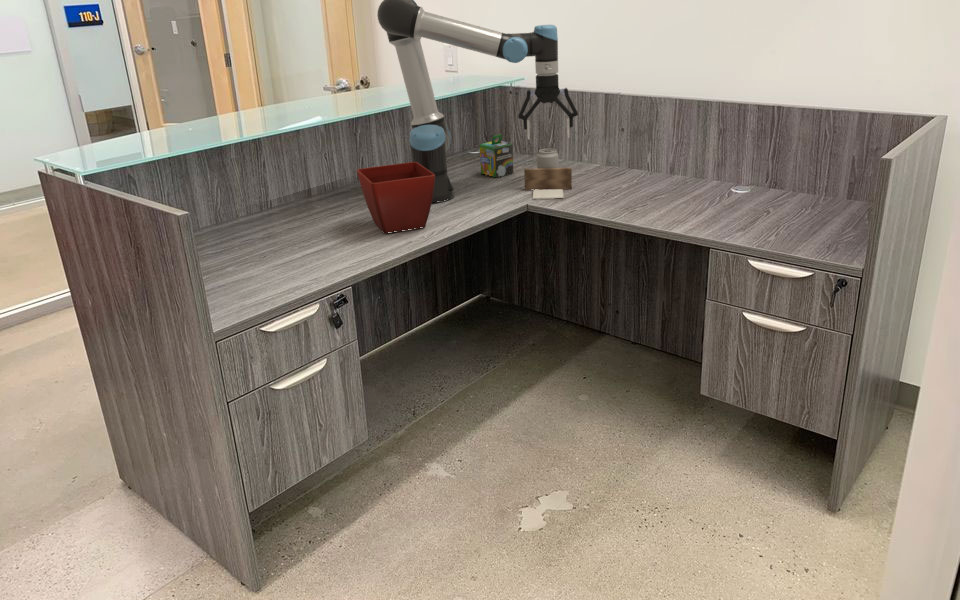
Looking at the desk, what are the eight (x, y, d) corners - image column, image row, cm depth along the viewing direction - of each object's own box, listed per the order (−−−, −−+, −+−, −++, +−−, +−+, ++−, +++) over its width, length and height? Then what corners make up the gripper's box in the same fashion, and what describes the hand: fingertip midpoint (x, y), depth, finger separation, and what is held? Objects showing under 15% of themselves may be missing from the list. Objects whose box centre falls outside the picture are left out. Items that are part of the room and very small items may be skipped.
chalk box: (498, 169, 291) (496, 131, 285) (514, 173, 284) (513, 133, 278) (479, 174, 285) (477, 135, 279) (495, 178, 279) (494, 138, 273)
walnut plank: (524, 190, 262) (524, 170, 259) (524, 188, 264) (524, 168, 261) (571, 189, 261) (571, 168, 258) (571, 187, 262) (571, 167, 260)
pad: (532, 199, 251) (532, 198, 250) (533, 191, 260) (533, 189, 260) (563, 199, 250) (563, 197, 250) (562, 190, 259) (562, 189, 259)
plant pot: (440, 229, 226) (436, 174, 220) (377, 240, 220) (371, 183, 214) (420, 213, 243) (416, 161, 236) (362, 222, 237) (355, 169, 230)
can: (558, 180, 272) (558, 147, 267) (558, 186, 265) (558, 152, 260) (537, 181, 272) (537, 147, 268) (537, 186, 266) (536, 152, 261)
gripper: (509, 77, 251) (511, 141, 260) (585, 73, 249) (585, 138, 257) (510, 74, 258) (512, 137, 267) (584, 70, 256) (584, 134, 264)
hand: (548, 138), depth 262 cm, fingers open, 13 cm apart
